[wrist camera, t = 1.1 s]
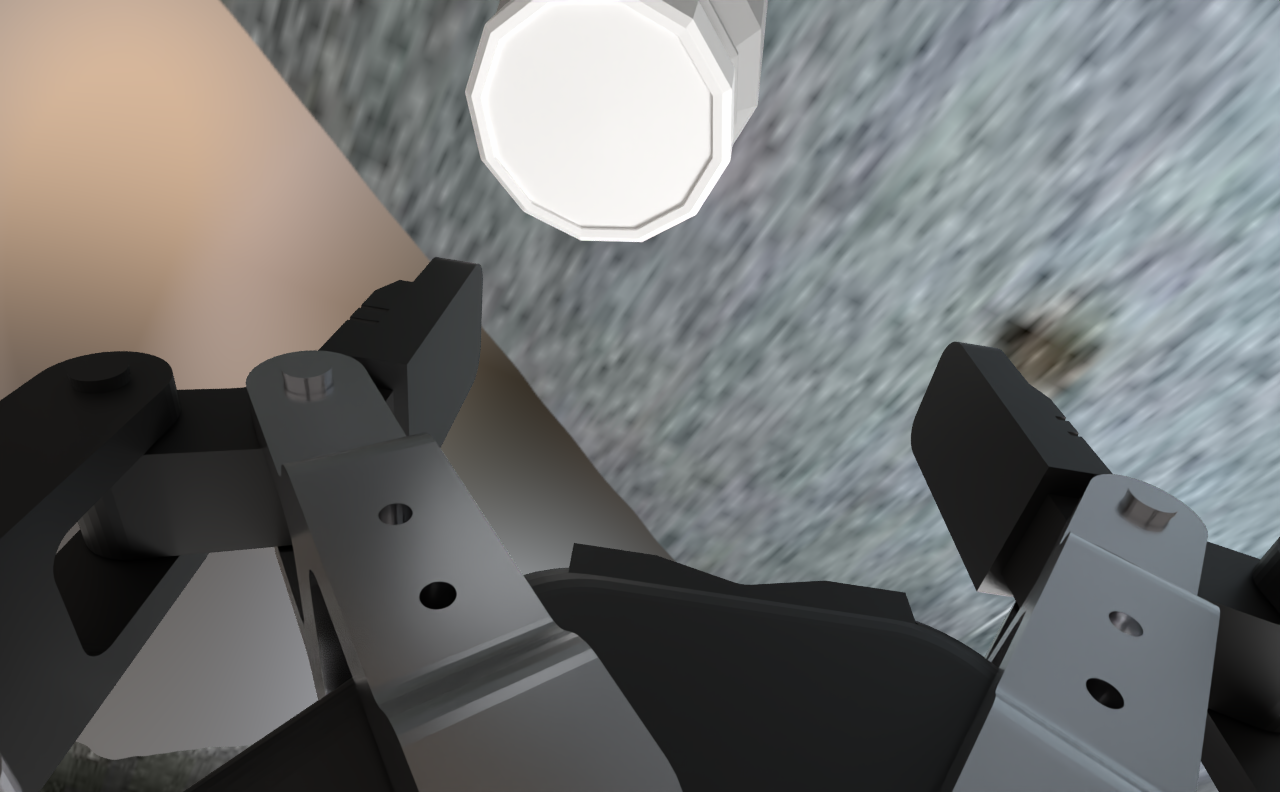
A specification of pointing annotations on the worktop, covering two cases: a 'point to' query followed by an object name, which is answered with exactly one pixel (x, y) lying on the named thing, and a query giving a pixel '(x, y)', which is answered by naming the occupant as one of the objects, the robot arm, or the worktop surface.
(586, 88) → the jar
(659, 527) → the worktop surface
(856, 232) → the worktop surface
